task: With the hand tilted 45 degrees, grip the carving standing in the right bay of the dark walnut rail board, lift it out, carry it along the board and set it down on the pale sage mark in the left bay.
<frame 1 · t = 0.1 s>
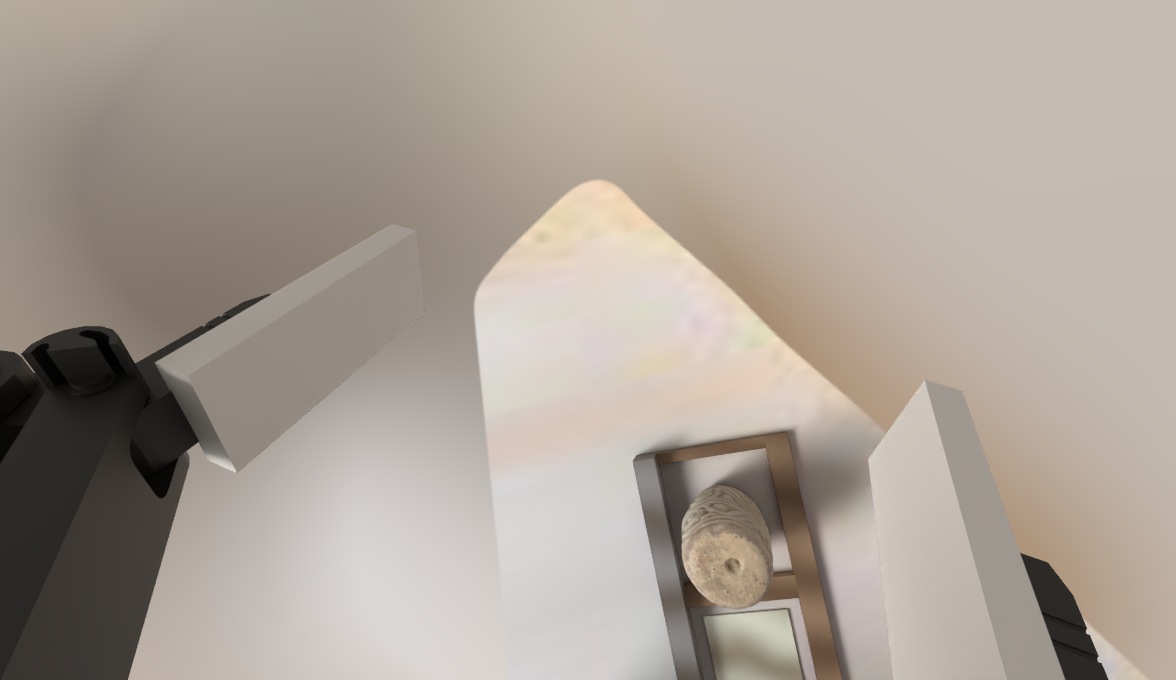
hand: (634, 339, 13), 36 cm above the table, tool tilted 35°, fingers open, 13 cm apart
rail board: (739, 587, 47), on the table
carving: (723, 514, 47), on the table
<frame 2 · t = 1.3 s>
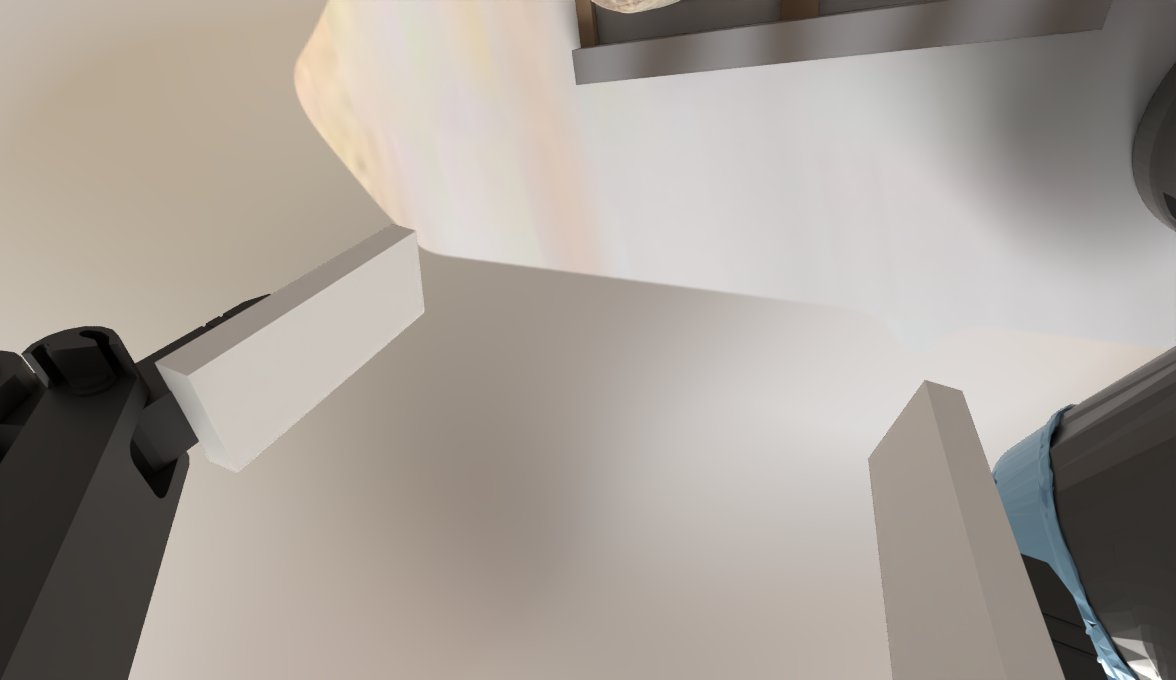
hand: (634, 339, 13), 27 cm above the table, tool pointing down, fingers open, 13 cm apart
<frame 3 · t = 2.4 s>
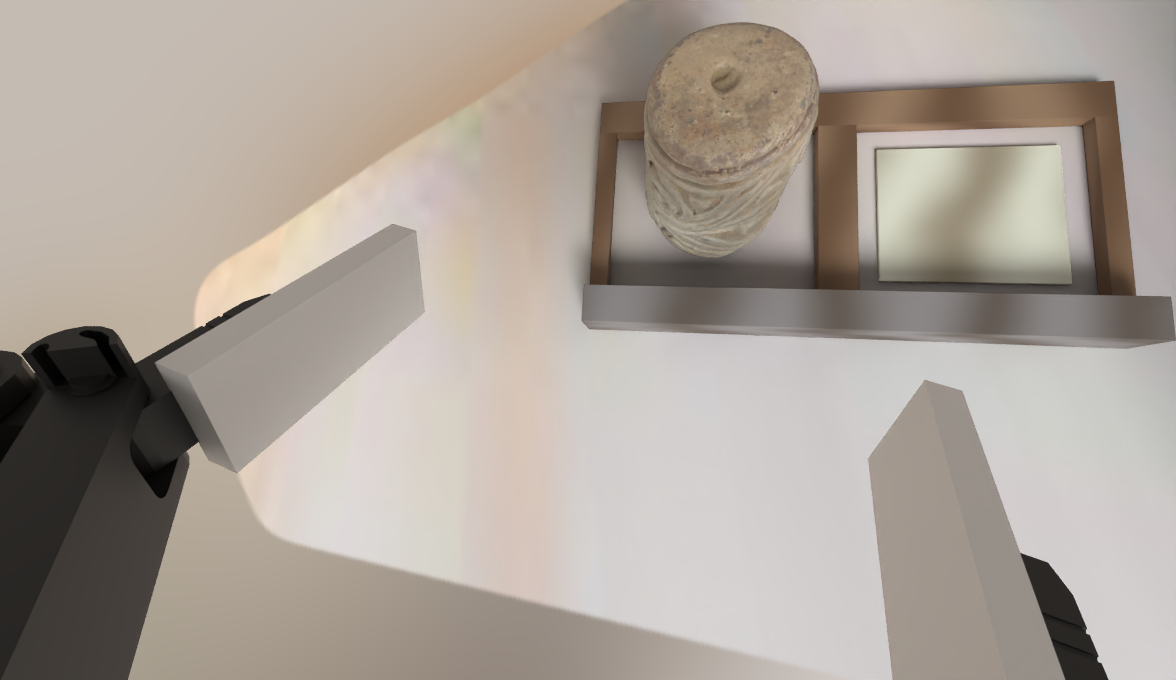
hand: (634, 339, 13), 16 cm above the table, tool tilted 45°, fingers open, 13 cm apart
rail board: (833, 215, 28), on the table
carving: (710, 217, 30), on the table
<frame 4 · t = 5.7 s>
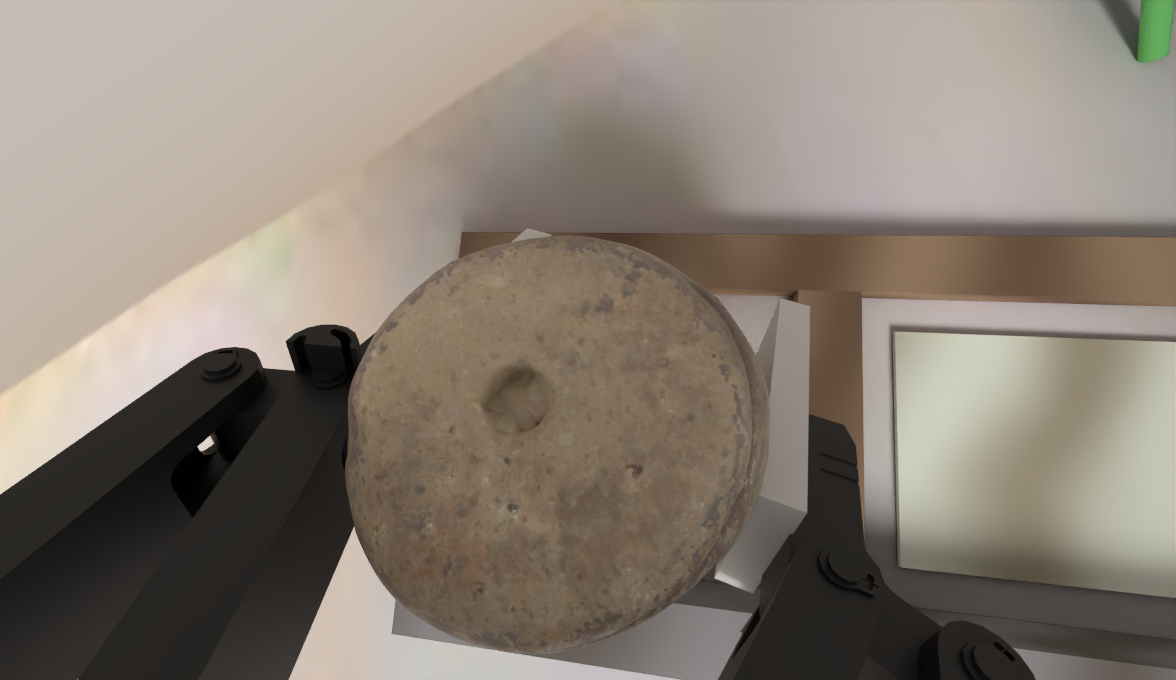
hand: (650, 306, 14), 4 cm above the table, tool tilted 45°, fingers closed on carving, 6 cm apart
rail board: (822, 439, 17), on the table
carving: (625, 425, 18), on the table, touching gripper
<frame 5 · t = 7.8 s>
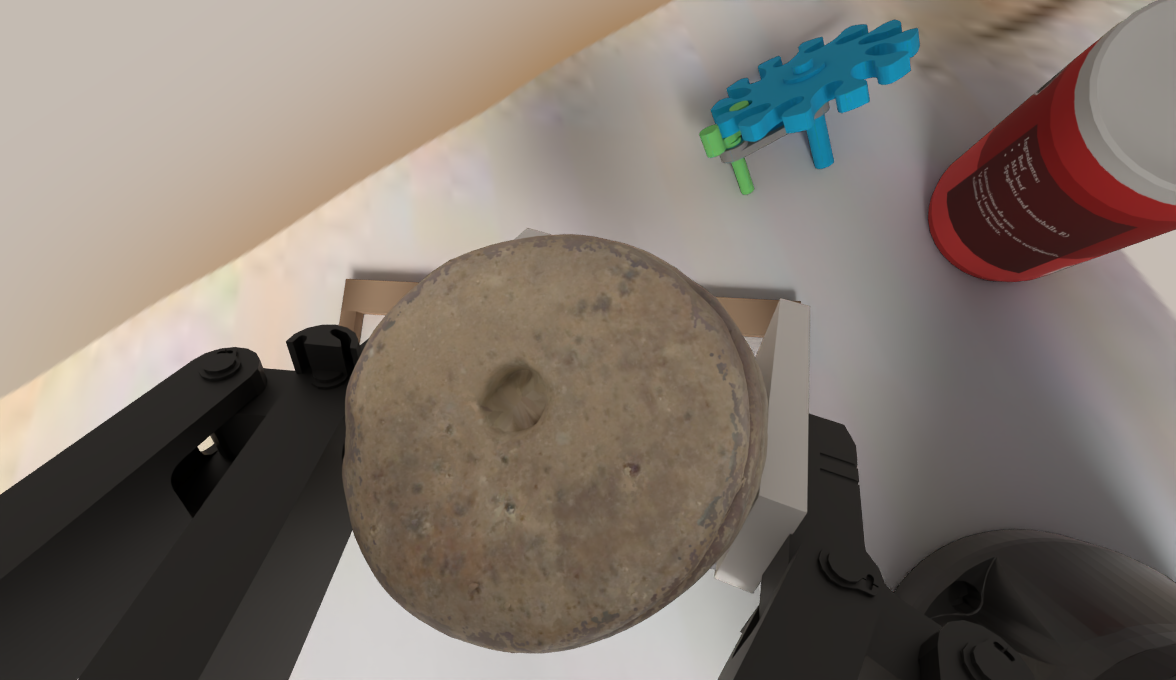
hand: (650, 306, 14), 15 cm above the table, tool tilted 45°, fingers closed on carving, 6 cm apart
rail board: (551, 410, 29), on the table
carving: (624, 425, 18), point 10 cm above the table, touching gripper
canned food: (995, 218, 28), on the table
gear: (778, 129, 30), on the table
when the fingers open (6 cm above the table, at t = 10.2 s): carving drops 1 cm, resting on rail board.
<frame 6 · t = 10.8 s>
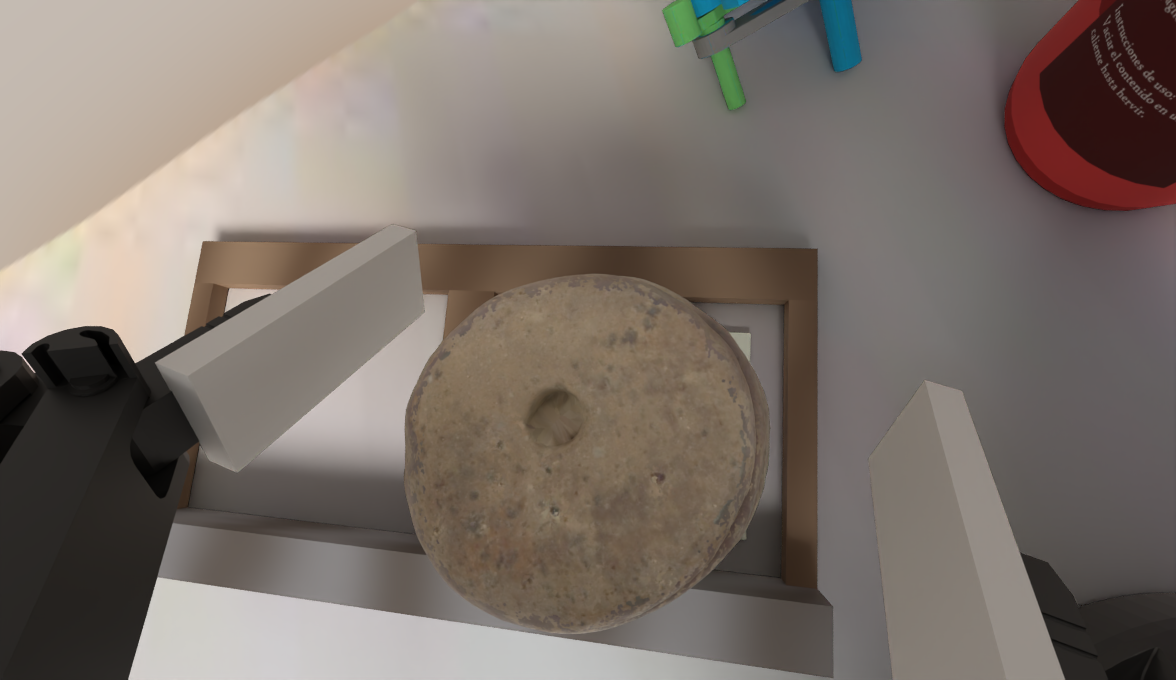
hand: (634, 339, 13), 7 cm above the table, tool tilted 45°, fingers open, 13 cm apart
rail board: (466, 412, 21), on the table
carving: (631, 428, 20), resting on rail board
canned food: (1107, 121, 19), on the table
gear: (783, 23, 22), on the table
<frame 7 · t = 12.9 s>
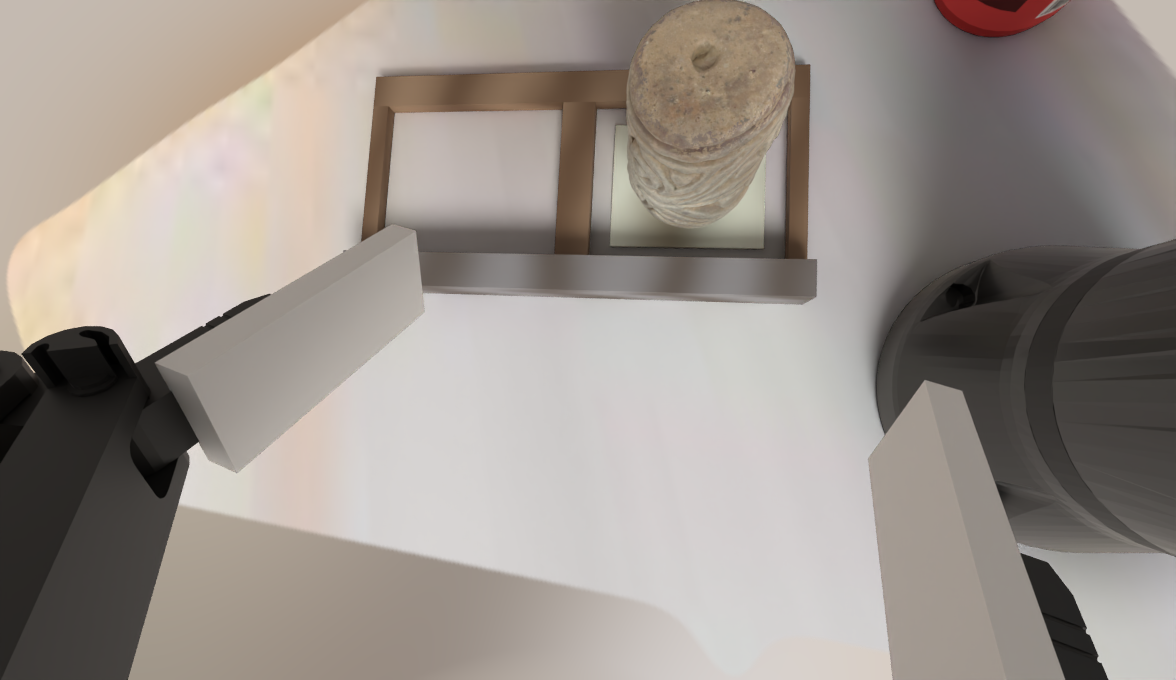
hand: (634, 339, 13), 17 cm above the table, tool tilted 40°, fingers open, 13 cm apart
rail board: (576, 186, 31), on the table
carving: (689, 188, 30), resting on rail board
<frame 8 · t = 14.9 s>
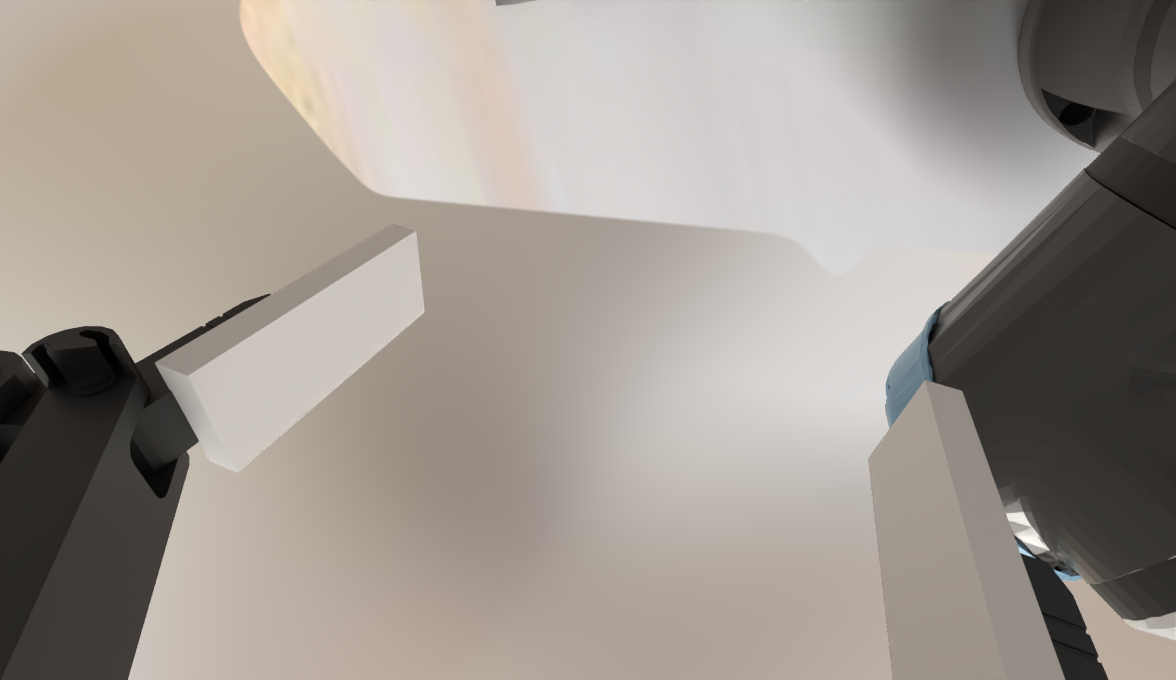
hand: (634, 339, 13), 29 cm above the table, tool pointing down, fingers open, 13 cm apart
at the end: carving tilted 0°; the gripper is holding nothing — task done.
